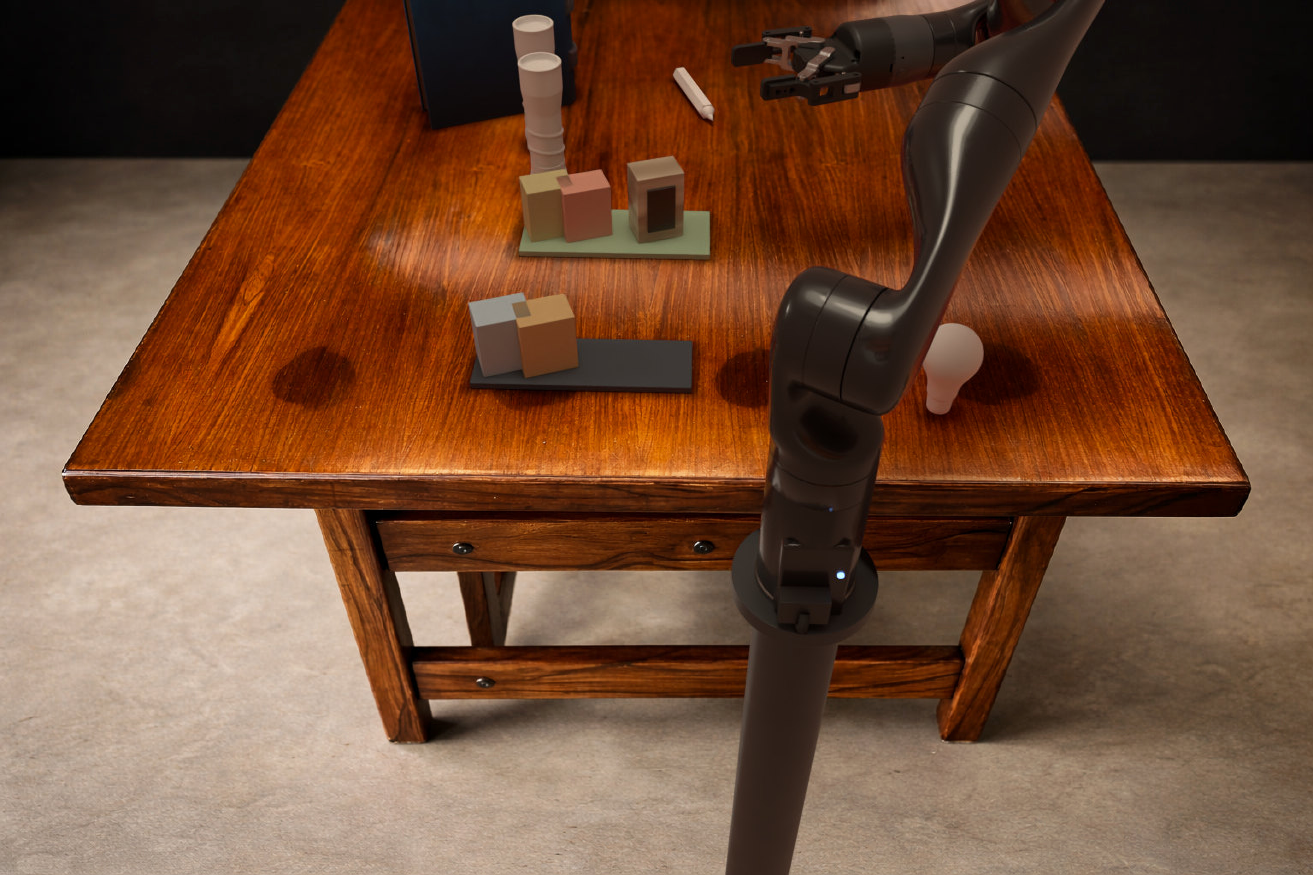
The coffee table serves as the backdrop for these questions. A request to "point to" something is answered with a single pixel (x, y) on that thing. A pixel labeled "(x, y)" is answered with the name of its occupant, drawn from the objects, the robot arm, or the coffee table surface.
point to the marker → (694, 93)
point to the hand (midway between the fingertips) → (746, 73)
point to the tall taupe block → (655, 199)
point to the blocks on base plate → (567, 352)
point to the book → (479, 56)
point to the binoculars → (540, 91)
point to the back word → (595, 222)
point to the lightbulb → (950, 364)
